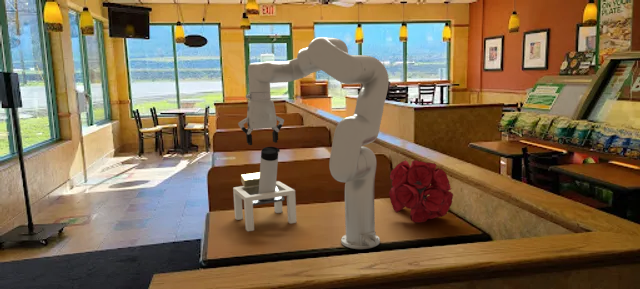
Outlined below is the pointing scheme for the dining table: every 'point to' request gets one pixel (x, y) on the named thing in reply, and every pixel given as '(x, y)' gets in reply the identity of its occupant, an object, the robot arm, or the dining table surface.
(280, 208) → the stand
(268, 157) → the travel mug
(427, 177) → the bouquet
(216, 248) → the dining table surface
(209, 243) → the dining table surface
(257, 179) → the trapdoor
